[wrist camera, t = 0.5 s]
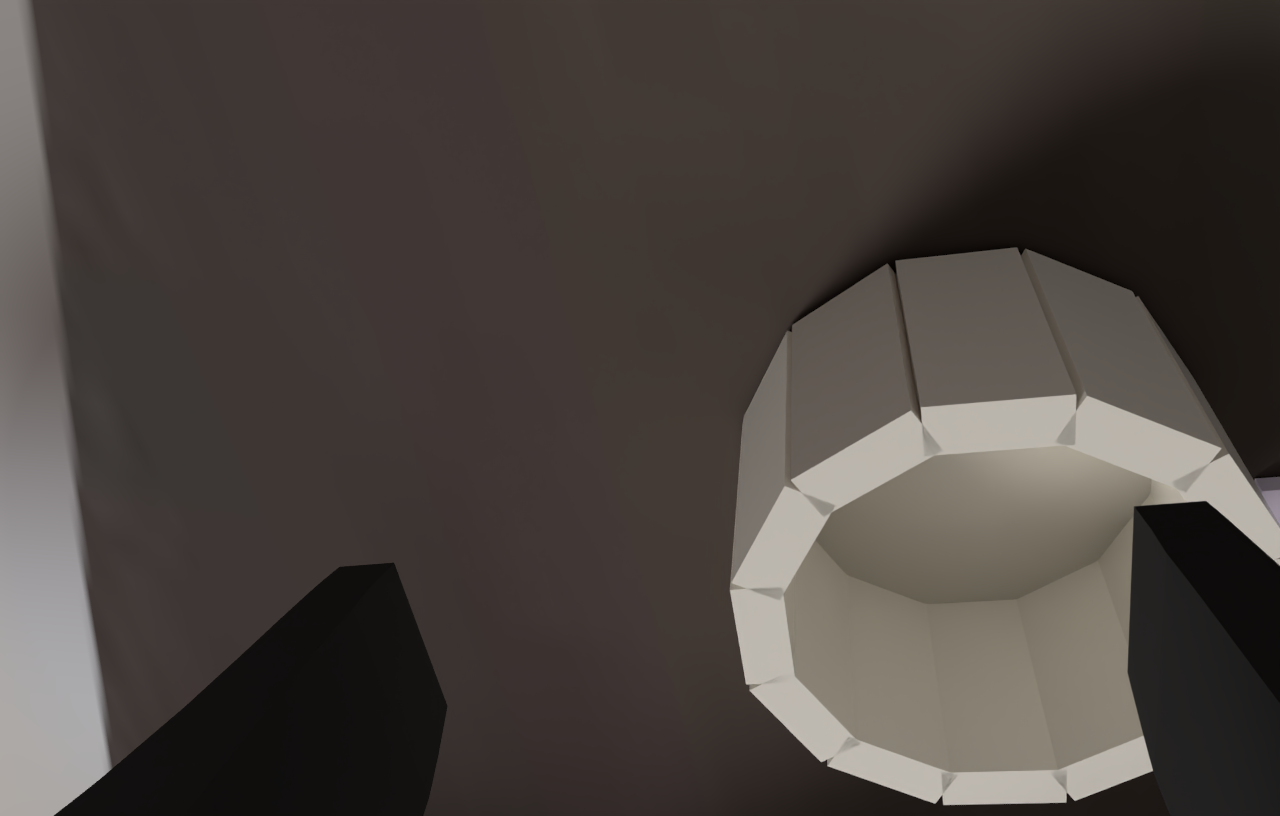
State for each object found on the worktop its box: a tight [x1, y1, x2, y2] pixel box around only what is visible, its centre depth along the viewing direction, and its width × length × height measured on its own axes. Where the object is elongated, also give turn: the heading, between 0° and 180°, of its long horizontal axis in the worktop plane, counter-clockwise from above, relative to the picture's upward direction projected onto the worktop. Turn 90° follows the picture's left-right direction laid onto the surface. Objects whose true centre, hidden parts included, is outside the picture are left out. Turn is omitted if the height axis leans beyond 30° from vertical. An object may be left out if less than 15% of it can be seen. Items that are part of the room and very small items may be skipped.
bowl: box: [730, 247, 1280, 805], centre depth 19 cm, size 8×8×5 cm
